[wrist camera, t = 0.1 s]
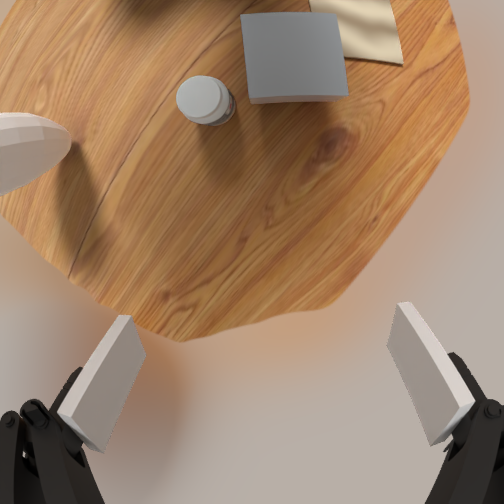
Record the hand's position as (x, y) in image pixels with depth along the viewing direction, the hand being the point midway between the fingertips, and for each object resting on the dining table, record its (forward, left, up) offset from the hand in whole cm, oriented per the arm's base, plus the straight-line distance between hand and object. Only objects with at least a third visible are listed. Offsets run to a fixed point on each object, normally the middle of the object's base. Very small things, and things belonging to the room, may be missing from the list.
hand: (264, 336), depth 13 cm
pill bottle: (-14, -5, -28) cm, 32 cm away
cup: (-14, -29, -28) cm, 43 cm away
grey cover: (-18, +5, -23) cm, 29 cm away
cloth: (-27, +16, -28) cm, 42 cm away
